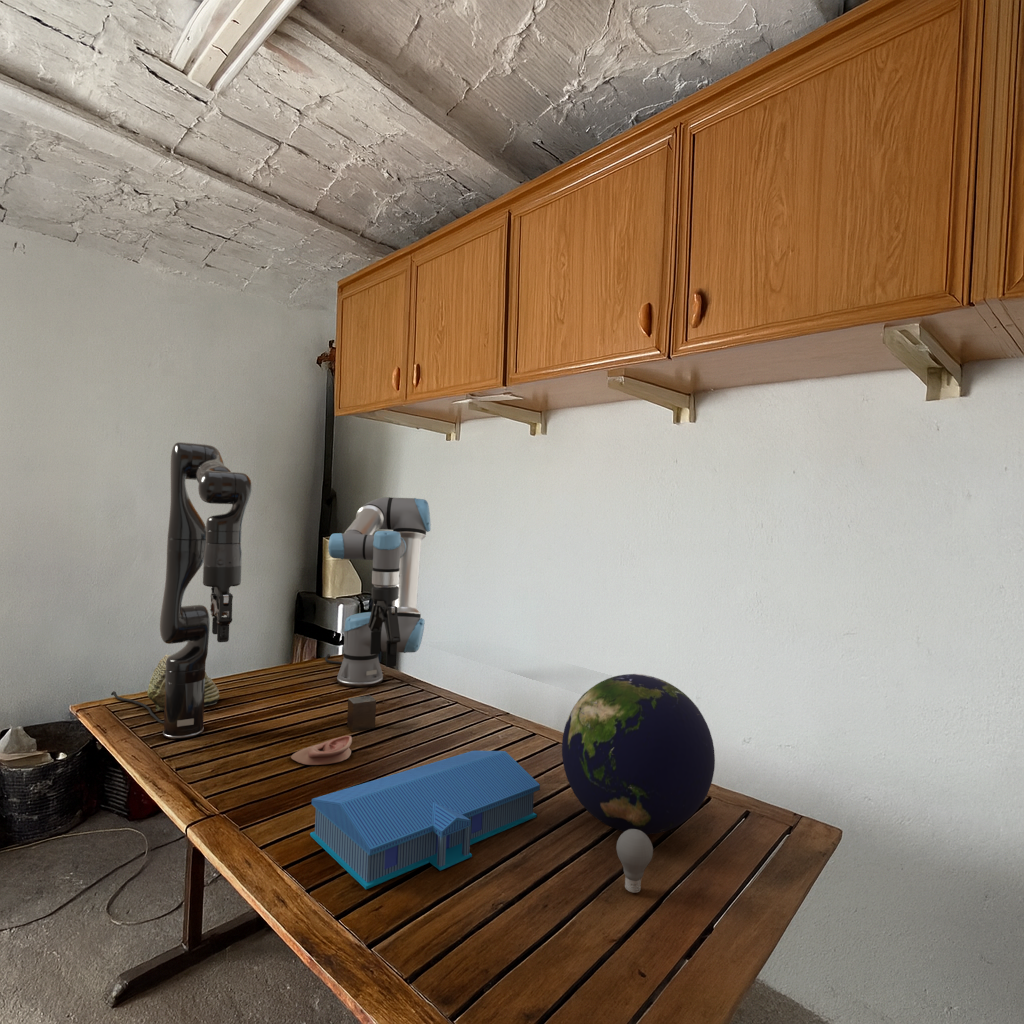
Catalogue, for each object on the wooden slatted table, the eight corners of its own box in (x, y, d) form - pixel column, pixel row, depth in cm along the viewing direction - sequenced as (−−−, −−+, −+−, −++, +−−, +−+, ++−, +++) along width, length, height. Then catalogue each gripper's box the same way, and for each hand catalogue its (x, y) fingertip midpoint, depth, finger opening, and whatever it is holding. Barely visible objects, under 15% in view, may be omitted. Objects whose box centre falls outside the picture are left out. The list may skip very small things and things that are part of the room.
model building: (376, 899, 100) (378, 836, 100) (308, 834, 119) (310, 781, 118) (548, 822, 127) (550, 773, 127) (472, 779, 145) (474, 735, 145)
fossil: (144, 707, 182) (145, 655, 182) (212, 696, 194) (213, 647, 194) (151, 716, 175) (153, 662, 175) (221, 703, 188) (223, 653, 188)
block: (375, 728, 174) (376, 700, 174) (352, 732, 171) (353, 703, 171) (369, 723, 178) (370, 695, 178) (346, 726, 175) (348, 698, 175)
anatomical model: (284, 745, 150) (309, 728, 161) (283, 762, 150) (308, 744, 161) (336, 752, 147) (358, 734, 158) (335, 769, 147) (357, 750, 158)
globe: (537, 843, 119) (545, 684, 118) (581, 780, 147) (587, 651, 146) (703, 885, 108) (711, 711, 107) (716, 809, 135) (723, 670, 135)
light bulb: (610, 879, 108) (613, 822, 108) (644, 879, 109) (647, 822, 109) (619, 902, 102) (622, 840, 102) (655, 901, 103) (658, 840, 103)
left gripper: (246, 566, 133) (244, 643, 134) (236, 559, 146) (233, 630, 146) (207, 567, 129) (204, 646, 130) (200, 560, 142) (197, 632, 142)
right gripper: (414, 592, 171) (411, 670, 171) (383, 578, 192) (381, 648, 193) (387, 593, 167) (384, 673, 168) (359, 579, 188) (356, 650, 189)
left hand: (220, 637), depth 138 cm, fingers open, 8 cm apart
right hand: (382, 659), depth 180 cm, fingers open, 13 cm apart
